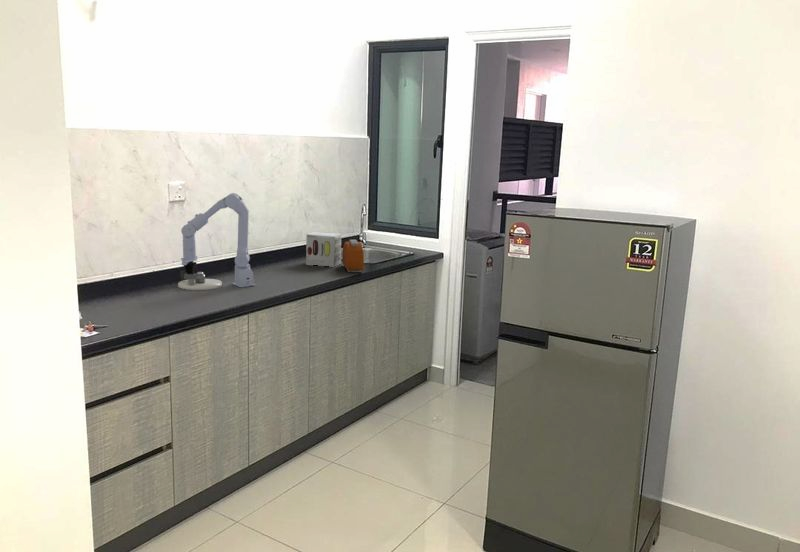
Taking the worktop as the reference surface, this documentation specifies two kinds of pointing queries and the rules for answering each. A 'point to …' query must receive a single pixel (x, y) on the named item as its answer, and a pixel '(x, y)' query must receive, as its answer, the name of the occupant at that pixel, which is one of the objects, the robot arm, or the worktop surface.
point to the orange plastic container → (353, 256)
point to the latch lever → (193, 276)
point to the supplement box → (323, 249)
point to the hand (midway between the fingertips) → (190, 277)
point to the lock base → (200, 284)
